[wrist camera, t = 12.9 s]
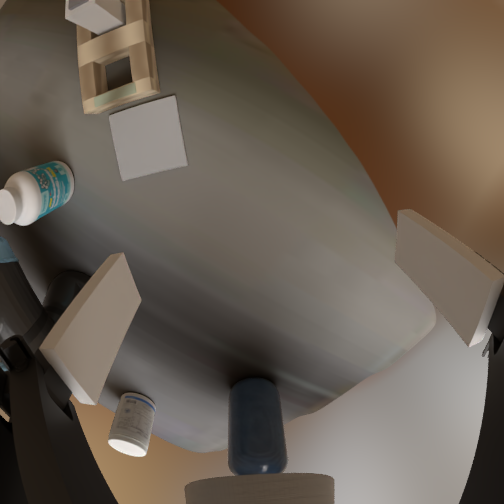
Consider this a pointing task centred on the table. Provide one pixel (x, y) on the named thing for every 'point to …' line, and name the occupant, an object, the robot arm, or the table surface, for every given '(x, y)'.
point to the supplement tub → (132, 425)
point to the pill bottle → (35, 193)
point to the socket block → (113, 49)
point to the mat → (148, 138)
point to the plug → (96, 14)
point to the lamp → (259, 456)
